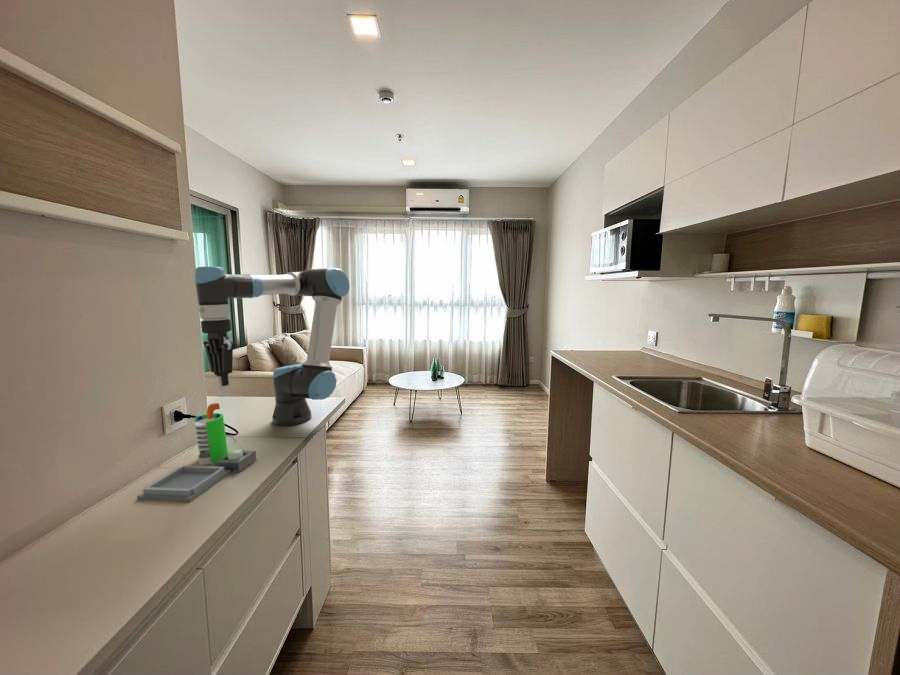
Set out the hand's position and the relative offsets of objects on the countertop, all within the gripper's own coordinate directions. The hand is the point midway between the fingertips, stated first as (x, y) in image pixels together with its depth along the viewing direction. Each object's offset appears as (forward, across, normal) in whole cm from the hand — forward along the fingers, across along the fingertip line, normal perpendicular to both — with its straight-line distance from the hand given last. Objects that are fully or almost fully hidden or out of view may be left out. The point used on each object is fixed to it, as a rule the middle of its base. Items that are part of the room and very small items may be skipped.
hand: (224, 395), depth 111 cm
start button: (+22, +3, 0) cm, 22 cm away
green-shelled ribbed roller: (+22, -9, -1) cm, 24 cm away
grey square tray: (+22, +2, -14) cm, 26 cm away
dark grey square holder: (+22, +3, 0) cm, 22 cm away
